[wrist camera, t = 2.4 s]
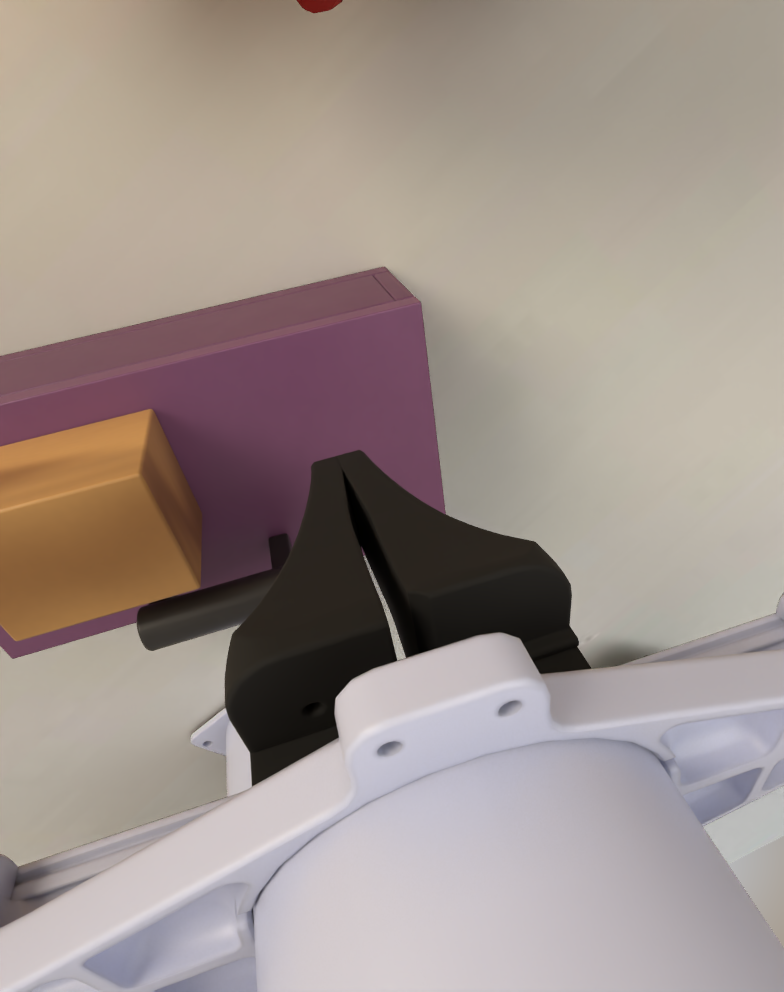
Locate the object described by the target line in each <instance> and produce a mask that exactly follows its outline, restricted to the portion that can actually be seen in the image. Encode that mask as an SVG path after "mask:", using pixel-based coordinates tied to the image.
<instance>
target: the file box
mask: <svg viewBox="0 0 784 992" xmlns="http://www.w3.org/2000/svg"><path fill="white" fill-rule="evenodd" d="M411 297H414V295H413V294H412V293H411V292H410V291H409V290H408V289H407V288H406V287H405V286H404V285H402V284H401V283H400V282H399V281H398V280H397V279H396V278H395V277H394V276H393V275H392V274H391V273H390V272H389V270H388V269H387V268H386V267H381V268H376V269H372V270H368V271H364V272H359V273H355V274H351V275H346V276H342V277H338V278H334V279H329V280H325V281H321V282H316V283H312V284H308V285H304V286H299V287H295V288H291V289H286V290H282V291H278V292H274V293H269V294H265V295H261V296H257V297H252V298H248V299H244V300H239V301H235V302H231V303H227V304H222V305H218V306H214V307H209V308H205V309H201V310H197V311H192V312H188V313H184V314H179V315H175V316H171V317H167V318H162V319H158V320H154V321H150V322H145V323H141V324H137V325H132V326H128V327H124V328H120V329H115V330H111V331H107V332H102V333H98V334H94V335H90V336H85V337H81V338H77V339H72V340H68V341H64V342H60V343H55V344H51V345H47V346H42V347H38V348H34V349H30V350H25V351H21V352H17V353H13V354H8V355H4V356H0V397H1V396H6V395H10V394H14V393H18V392H22V391H26V390H30V389H35V388H39V387H43V386H47V385H51V384H55V383H59V382H64V381H68V380H72V379H76V378H80V377H84V376H88V375H93V374H97V373H101V372H105V371H109V370H113V369H117V368H122V367H126V366H130V365H134V364H138V363H142V362H146V361H150V360H155V359H159V358H163V357H167V356H171V355H175V354H179V353H184V352H188V351H192V350H196V349H200V348H204V347H208V346H213V345H217V344H221V343H225V342H229V341H233V340H237V339H242V338H246V337H250V336H254V335H258V334H262V333H266V332H271V331H275V330H279V329H283V328H287V327H291V326H295V325H299V324H304V323H308V322H312V321H316V320H320V319H324V318H328V317H333V316H337V315H341V314H345V313H349V312H353V311H357V310H362V309H366V308H370V307H374V306H378V305H382V304H386V303H391V302H395V301H399V300H403V299H407V298H411Z"/></svg>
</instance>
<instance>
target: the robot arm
mask: <svg viewBox="0 0 784 992" xmlns="http://www.w3.org/2000/svg"><path fill="white" fill-rule="evenodd" d="M361 546H362V547H361ZM362 549H363V551H364V553H365V556H366V558H367V560H368V562H369V565H370V567H371V569H372V571H373V574H374V576H375V578H376V580H377V582H378V585H379V587H380V589H381V591H382V594H383V596H384V598H385V600H386V603H387V605H388V607H389V609H390V612H391V614H392V617H393V620H394V622H395V625H396V628H397V631H398V634H399V637H400V641H401V644H402V647H403V650H404V653H405V656H406V658H405V659H401V660H398V661H397V658H396V654H395V649H394V645H393V641H392V637H391V633H390V628H389V624H388V621H387V618H386V615H385V612H384V609H383V606H382V603H381V600H380V598H379V596H378V593H377V591H376V588H375V586H374V583H373V581H372V578H371V576H370V573H369V570H368V568H367V565H366V562H365V560H364V557H363V552H362ZM571 598H572V594H571V585H570V583H569V581H568V579H567V578H566V576H565V574H564V573H563V571H562V570H561V569H560V567H559V566H558V565H557V564H556V562H555V561H554V560H553V559H552V558H551V557H550V556H549V555H548V554H547V553H546V552H545V551H544V550H543V549H542V548H541V547H540V546H539V545H538V544H537V543H536V542H534V541H529V540H524V539H519V538H514V537H510V536H505V535H501V534H497V533H494V532H490V531H487V530H484V529H480V528H478V527H475V526H472V525H469V524H467V523H464V522H462V521H459V520H457V519H454V518H452V517H450V516H448V515H446V514H444V513H442V512H440V511H438V510H436V509H434V508H433V507H431V506H429V505H427V504H426V503H424V502H423V501H421V500H420V499H418V498H417V497H415V496H414V495H412V494H411V493H409V492H408V491H406V490H405V489H404V488H402V487H401V486H400V485H399V484H397V483H396V482H395V481H394V480H392V479H391V478H390V477H389V476H388V475H386V474H385V473H384V472H383V471H382V470H381V469H380V468H379V467H378V466H376V465H375V464H374V463H373V462H372V461H371V460H370V458H369V457H368V456H367V455H366V454H365V453H364V452H363V451H361V450H356V451H353V452H349V453H345V454H342V455H338V456H334V457H330V458H327V459H323V460H319V461H316V462H314V463H313V464H312V466H311V484H310V490H309V496H308V500H307V505H306V509H305V513H304V516H303V519H302V522H301V526H300V529H299V532H298V535H297V537H296V540H295V542H294V545H293V547H292V549H291V551H290V554H289V556H288V558H287V560H286V562H285V564H284V566H283V567H282V569H281V571H280V573H279V575H278V576H277V578H276V580H275V581H274V583H273V585H272V586H271V588H270V589H269V590H268V592H267V593H266V595H265V596H264V598H263V599H262V600H261V602H260V603H259V605H258V606H257V607H256V609H255V610H254V611H253V612H252V613H251V614H250V615H249V617H248V618H247V619H246V620H245V621H244V622H243V623H242V624H241V626H240V627H239V628H238V629H237V630H236V631H235V632H234V633H233V634H232V638H231V642H230V647H229V651H228V657H227V664H226V672H225V708H224V709H223V710H222V711H220V712H219V713H218V714H217V715H215V716H214V717H213V718H211V719H210V720H209V721H208V722H206V723H205V724H204V725H203V726H201V727H200V728H199V729H197V730H196V731H195V732H194V733H193V734H192V735H191V743H192V744H193V745H195V746H197V747H200V748H203V749H206V750H209V751H212V752H215V753H218V754H221V755H224V756H226V772H227V797H225V798H222V799H219V800H216V801H213V802H210V803H207V804H204V805H201V806H198V807H195V808H192V809H189V810H186V811H183V812H180V813H177V814H174V815H171V816H168V817H165V818H162V819H159V820H156V821H153V822H150V823H147V824H144V825H141V826H138V827H135V828H133V829H130V830H127V831H124V832H121V833H118V834H115V835H112V836H109V837H106V838H103V839H100V840H97V841H94V842H91V843H88V844H85V845H82V846H79V847H76V848H73V849H70V850H67V851H64V852H61V853H58V854H55V855H52V856H49V857H46V858H43V859H40V860H37V861H34V862H31V863H28V864H25V865H22V866H19V867H18V866H17V865H16V864H15V863H14V862H13V861H12V860H11V859H9V858H8V857H6V856H5V855H2V854H0V992H784V947H783V946H782V944H781V943H780V941H779V940H778V938H777V937H776V935H775V934H774V932H773V931H772V929H771V928H770V926H769V925H768V923H767V922H766V920H765V919H764V917H763V916H762V914H761V913H760V911H759V910H758V908H757V907H756V905H755V904H754V902H753V901H752V899H751V898H750V896H749V895H748V893H747V892H746V890H745V889H744V887H743V886H742V884H741V883H740V881H739V880H738V878H737V877H736V875H735V874H734V872H733V871H732V869H731V868H730V866H729V865H728V863H727V862H726V860H725V859H724V857H723V856H722V854H721V853H720V851H719V850H718V848H717V847H716V845H715V844H714V842H713V841H712V839H711V838H710V836H709V835H708V833H707V832H706V830H705V829H704V827H703V826H705V825H707V824H709V823H711V822H713V821H715V820H717V819H719V818H721V817H723V816H725V815H727V814H729V813H731V812H733V811H735V810H737V809H739V808H741V807H743V806H745V805H747V804H749V803H751V802H753V801H755V800H757V799H758V798H760V797H762V796H764V795H766V794H768V793H770V792H772V791H774V790H776V789H778V788H780V787H782V786H784V593H783V594H782V596H781V597H780V599H779V602H778V605H777V609H776V613H774V614H771V615H768V616H765V617H762V618H759V619H756V620H753V621H750V622H747V623H744V624H741V625H738V626H735V627H732V628H729V629H726V630H723V631H720V632H717V633H714V634H711V635H708V636H705V637H702V638H699V639H696V640H693V641H690V642H687V643H684V644H681V645H678V646H675V647H672V648H669V649H666V650H663V651H660V652H658V653H655V654H652V655H649V656H646V657H643V658H640V659H637V660H634V661H631V662H628V663H625V664H622V665H619V666H614V667H605V668H595V669H591V667H590V666H589V664H588V663H587V661H586V660H585V658H584V656H583V655H582V653H581V652H580V650H579V649H578V647H577V646H578V645H579V641H578V638H577V636H576V635H575V633H574V632H573V630H572V629H571V627H570V626H569V624H570V611H571Z"/></svg>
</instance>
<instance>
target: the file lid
mask: <svg viewBox="0 0 784 992" xmlns="http://www.w3.org/2000/svg"><path fill="white" fill-rule="evenodd" d="M148 409H152V410H153V411H154V412H155V414H156V416H157V418H158V421H159V423H160V425H161V427H162V429H163V431H164V433H165V435H166V438H167V440H168V442H169V444H170V446H171V448H172V450H173V453H174V455H175V457H176V459H177V461H178V463H179V465H180V467H181V470H182V472H183V474H184V476H185V478H186V480H187V482H188V484H189V487H190V489H191V491H192V493H193V495H194V497H195V499H196V501H197V504H198V506H199V508H200V510H201V512H202V549H201V587H200V588H199V589H196V590H193V591H189V592H186V593H183V594H179V595H176V596H172V597H169V598H165V599H162V600H158V601H155V602H152V603H148V604H145V605H141V606H138V607H134V608H131V609H128V610H124V611H121V612H117V613H114V614H110V615H107V616H104V617H100V618H97V619H93V620H90V621H86V622H83V623H79V624H76V625H73V626H69V627H66V628H62V629H59V630H55V631H52V632H49V633H45V634H42V635H38V636H35V637H31V638H28V639H25V640H21V641H15V640H14V639H13V638H12V637H11V636H10V635H9V634H8V633H7V632H6V631H5V630H4V628H3V627H2V626H1V625H0V646H1V647H2V648H3V649H4V650H5V651H6V652H7V653H8V655H9V656H10V657H11V658H13V659H14V658H17V657H21V656H24V655H28V654H31V653H34V652H38V651H41V650H45V649H48V648H51V647H55V646H58V645H62V644H65V643H68V642H72V641H75V640H79V639H82V638H85V637H89V636H92V635H96V634H99V633H102V632H106V631H109V630H112V629H116V628H119V627H123V626H126V625H129V624H133V623H136V622H137V629H138V633H139V636H140V639H141V641H142V643H143V645H144V646H145V648H146V649H148V650H150V651H154V650H157V649H160V648H164V647H167V646H170V645H174V644H177V643H180V642H184V641H187V640H190V639H194V638H197V637H200V636H204V635H207V634H210V633H214V632H217V631H220V630H224V629H227V628H230V627H233V626H237V625H240V624H242V623H243V622H244V621H245V620H246V619H247V618H248V617H249V615H250V614H251V613H252V612H253V611H254V610H255V609H256V607H257V606H258V605H259V603H260V602H261V600H262V599H263V598H264V596H265V595H266V593H267V592H268V590H269V589H270V588H271V586H272V585H273V583H274V581H275V580H276V578H277V576H278V575H279V573H280V571H281V569H282V567H283V566H284V564H285V562H286V560H287V558H288V556H289V554H290V551H291V549H292V547H293V545H294V542H295V540H296V537H297V535H298V532H299V529H300V526H301V522H302V519H303V516H304V513H305V509H306V505H307V500H308V496H309V490H310V484H311V466H312V464H313V463H314V462H316V461H319V460H323V459H327V458H330V457H334V456H338V455H342V454H345V453H349V452H353V451H356V450H361V451H363V452H364V453H365V454H366V455H367V456H368V457H369V458H370V460H371V461H372V462H373V463H374V464H375V465H376V466H378V467H379V468H380V469H381V470H382V471H383V472H384V473H385V474H386V475H388V476H389V477H390V478H391V479H392V480H394V481H395V482H396V483H397V484H399V485H400V486H401V487H402V488H404V489H405V490H406V491H408V492H409V493H411V494H412V495H414V496H415V497H417V498H418V499H420V500H421V501H423V502H424V503H426V504H427V505H429V506H431V507H433V508H434V509H436V510H438V511H440V512H442V513H444V514H446V513H445V504H444V495H443V487H442V478H441V470H440V461H439V452H438V444H437V435H436V427H435V418H434V409H433V401H432V392H431V383H430V375H429V366H428V358H427V349H426V340H425V332H424V323H423V315H422V306H421V302H420V301H419V300H418V299H417V298H416V297H411V298H407V299H403V300H399V301H395V302H391V303H386V304H382V305H378V306H374V307H370V308H366V309H362V310H357V311H353V312H349V313H345V314H341V315H337V316H333V317H328V318H324V319H320V320H316V321H312V322H308V323H304V324H299V325H295V326H291V327H287V328H283V329H279V330H275V331H271V332H266V333H262V334H258V335H254V336H250V337H246V338H242V339H237V340H233V341H229V342H225V343H221V344H217V345H213V346H208V347H204V348H200V349H196V350H192V351H188V352H184V353H179V354H175V355H171V356H167V357H163V358H159V359H155V360H150V361H146V362H142V363H138V364H134V365H130V366H126V367H122V368H117V369H113V370H109V371H105V372H101V373H97V374H93V375H88V376H84V377H80V378H76V379H72V380H68V381H64V382H59V383H55V384H51V385H47V386H43V387H39V388H35V389H30V390H26V391H22V392H18V393H14V394H10V395H6V396H1V397H0V446H4V445H8V444H12V443H16V442H20V441H24V440H28V439H32V438H36V437H40V436H44V435H48V434H52V433H56V432H60V431H64V430H68V429H72V428H76V427H80V426H84V425H88V424H92V423H96V422H100V421H104V420H108V419H112V418H116V417H120V416H124V415H128V414H132V413H136V412H140V411H144V410H148ZM361 547H362V546H361ZM362 552H363V556H364V555H365V553H364V551H363V549H362Z"/></svg>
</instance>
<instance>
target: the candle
mask: <svg viewBox="0 0 784 992" xmlns="http://www.w3.org/2000/svg"><path fill="white" fill-rule="evenodd" d="M297 2H298V3H299V4H300V5H301V7H302V8H304V9H305V10H307V11H310V12H312V13H318V12H323V11H328V10H331V9H332V8H334V7H335V6H337V5H338V4H339V3H341V2H342V0H297Z"/></svg>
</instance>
